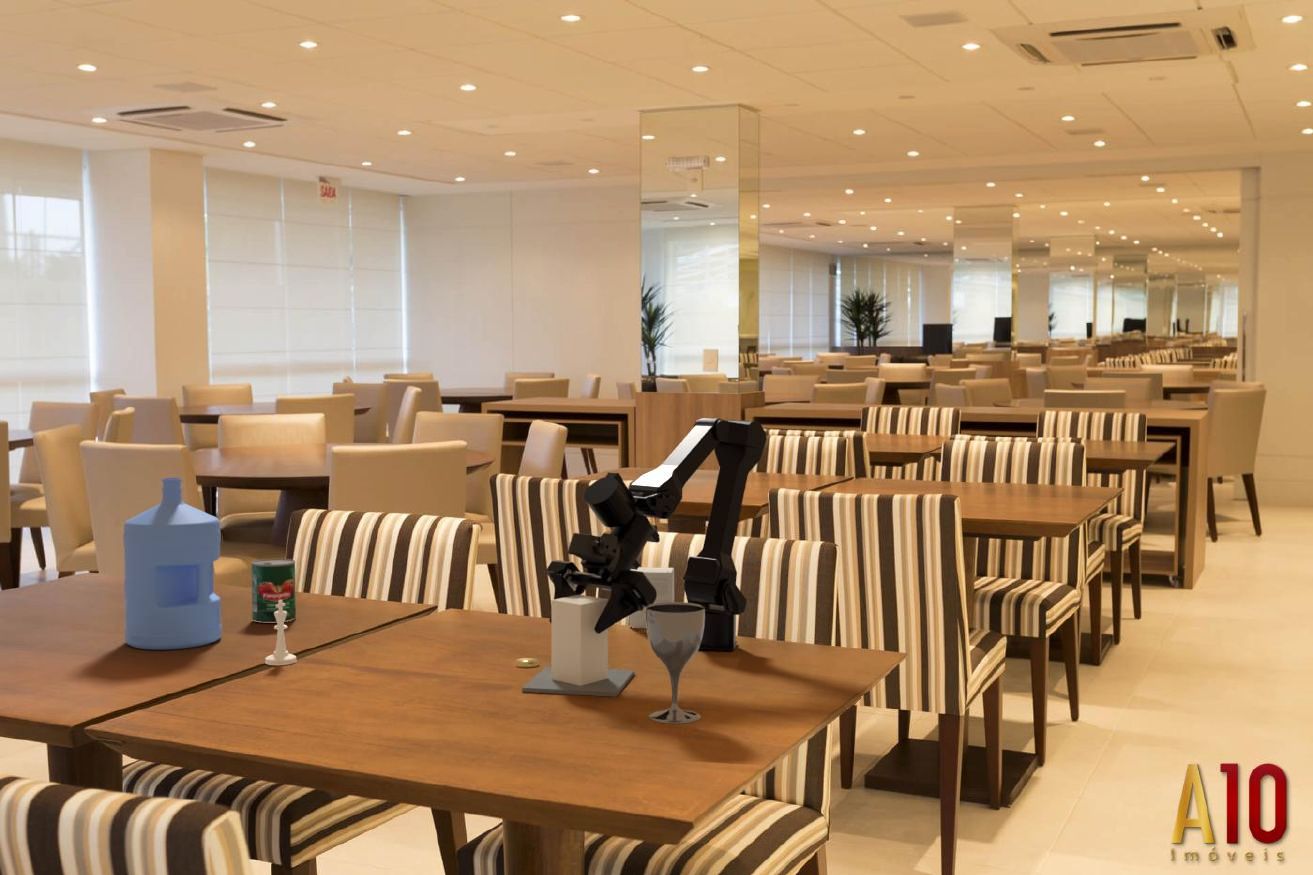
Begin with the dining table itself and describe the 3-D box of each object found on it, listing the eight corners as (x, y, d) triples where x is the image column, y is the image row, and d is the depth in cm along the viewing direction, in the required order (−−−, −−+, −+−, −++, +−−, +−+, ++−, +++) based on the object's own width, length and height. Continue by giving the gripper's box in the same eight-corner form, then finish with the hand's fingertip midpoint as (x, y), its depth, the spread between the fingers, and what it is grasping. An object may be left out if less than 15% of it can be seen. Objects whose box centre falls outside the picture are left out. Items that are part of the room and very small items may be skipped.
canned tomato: (277, 614, 248) (277, 557, 247) (304, 619, 243) (304, 560, 242) (242, 620, 241) (242, 562, 241) (269, 625, 237) (269, 566, 236)
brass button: (540, 664, 208) (540, 658, 208) (534, 669, 205) (534, 663, 205) (519, 663, 209) (519, 657, 209) (512, 668, 206) (512, 662, 206)
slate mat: (634, 674, 201) (634, 670, 201) (615, 696, 187) (616, 692, 187) (546, 670, 203) (546, 666, 203) (522, 691, 190) (522, 687, 190)
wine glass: (643, 709, 180) (643, 602, 179) (700, 708, 181) (701, 601, 180) (647, 725, 172) (648, 613, 172) (707, 724, 173) (708, 612, 172)
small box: (674, 623, 241) (675, 567, 241) (672, 629, 236) (672, 572, 235) (632, 622, 242) (632, 566, 242) (628, 628, 237) (628, 571, 236)
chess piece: (303, 660, 209) (302, 598, 208) (282, 666, 204) (282, 603, 204) (279, 657, 211) (278, 596, 211) (258, 663, 207) (257, 601, 206)
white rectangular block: (578, 672, 199) (579, 594, 199) (607, 678, 196) (608, 599, 195) (551, 679, 195) (551, 599, 194) (580, 685, 191) (580, 604, 190)
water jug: (103, 646, 219) (101, 480, 217) (171, 629, 233) (169, 473, 232) (177, 654, 213) (174, 484, 211) (241, 636, 227) (239, 477, 226)
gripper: (554, 508, 203) (502, 587, 195) (644, 518, 191) (593, 602, 183) (588, 553, 209) (539, 631, 202) (678, 565, 197) (630, 648, 190)
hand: (573, 627), depth 194 cm, fingers open, 9 cm apart
